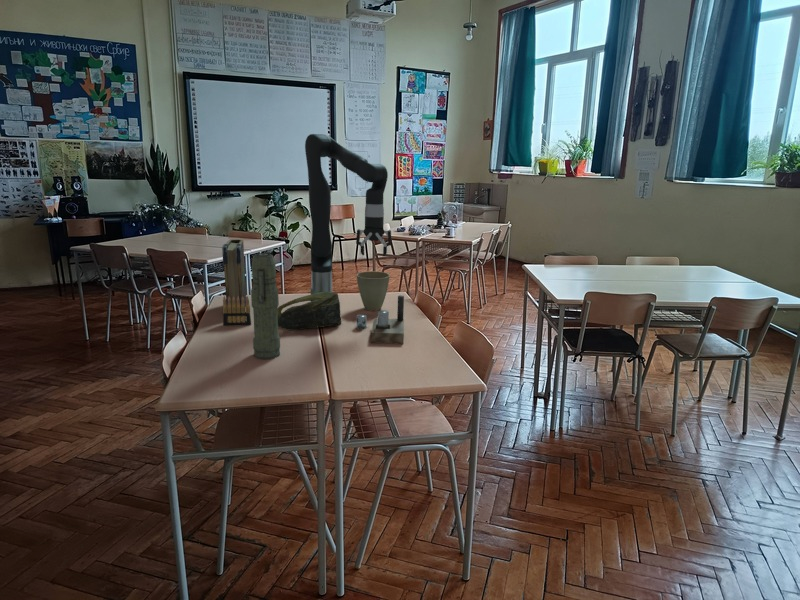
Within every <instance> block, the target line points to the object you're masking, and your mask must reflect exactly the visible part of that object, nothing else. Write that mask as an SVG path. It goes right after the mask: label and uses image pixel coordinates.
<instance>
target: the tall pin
mask: <svg viewBox="0 0 800 600" xmlns="http://www.w3.org/2000/svg"><path fill="white" fill-rule="evenodd" d="M377 313H378V314H377V319H378V329H388V319H390V317H389V315H390V314H389V313H390V312H389V311H388V310H382V309H380V310H377Z"/></svg>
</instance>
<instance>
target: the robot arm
mask: <svg viewBox="0 0 800 600" xmlns="http://www.w3.org/2000/svg"><path fill="white" fill-rule="evenodd" d="M304 150H305V158H306V166H307V179H308V203H309V214H310V217H311V241H310V271H311V272H310V277H311V280H310V281H311V288H310V295H311V294H315V293H320V292H332V293H333V255H332V254H333V251H332V250H333V243H332V238H331V229H330V228H331V227H330V220H331V209H332V207H331V206H332V205H331V204H332V203H331V201H332V198H331V197H332V196H331V187H330V184H329V182H328V180H327V178H326V176H325V174H324V173H323V169H322V162H321V160H322V158H330V159H331V158H332V159H334V160H337V161H338V162H339V163H340V165H341V166H343V168H345V169H346V170H348V171H349V172H352V173H354V174H356V175H357V176H358V177H359V178H360V179H362V180H363V181H365V182H367V183H371V184H372V185H371V187H370V188H368V189H367V190H366V191H365V207H364V229H360V228H358V229H357V230H356V239H355V244H356V245H357V246H359V247H360V254H361V255H362V256H364V255H365V244H366V243H367V242H368V241H371V242H372V241H375V242H378V241H380V243H381V244H382V245H383V247H382V256H383V257H385V256H386V255H387V253H388V247H390V246H392V231H391V230H390V229H388V230H384V222H385V221H384V216H385V212H384V211H385V210H384V208H385V207H384V194H385V189H386V185H387V181H388V176H389V175H388V173H389V172H388V169H387V167H386V166H385V165H384V164H382V163H370V162H369V161H368V160H367V159H366V158H365V157H364V156H362V155H360V154H357V153H355V152H353V151H352V150H349V149H347V148H346V147H344V146H342V145H341V144H340V143H339V142H337V141H336V140H335V139H333V138H332V137H331V136H330V135H326V134H323V133H321V134H319V133H318V134H317V133H311V134H308V135H307V136H306V139H305V143H304ZM363 234H364V236H365V238H364V239H363V240H362V241H360V240H361V238H360V237H361V236H362V235H363ZM384 235H386V237H387V242H386V240H385V239H384V238H383V236H384ZM317 300H319V299H317ZM317 300H313V301H317ZM310 302H312V301H310Z"/></svg>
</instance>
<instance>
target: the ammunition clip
mask: <svg viewBox="0 0 800 600" xmlns="http://www.w3.org/2000/svg"><path fill="white" fill-rule="evenodd" d="M222 298H223V299H222V326H224V327H225V326H227V327H228V326H229V327H230V326H235V327H236V326H252V318H251V307H250V298H249V296H248V295H246V307H245V303H244V297H243V296H242V299H241V306H240V300H239V297H238V296H237V306H236V304H235V298H234V296H233V298H232V306H231V300H230V297H229V296H228V306H227V305H226V295H224V296H223V297H222ZM236 309H237V312H236ZM227 310H228V312H227Z"/></svg>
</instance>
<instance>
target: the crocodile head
mask: <svg viewBox="0 0 800 600" xmlns="http://www.w3.org/2000/svg"><path fill="white" fill-rule="evenodd" d="M317 299H319V300H317ZM313 300H317V301H313ZM311 301H312V302H311ZM303 302H306V303H303ZM298 303H303V304H299V305H294V304H298ZM292 305H294V306H292ZM289 306H291V307H289ZM287 307H288V308H287ZM283 309H285V310H284V311H283ZM282 311H283V312H282ZM277 313H278V328H280V329H283V330H287V331H288V330H289V331H298V330H304V329H311V328H312V329H317V328H318V329H319V328H326V327H329V326H338V325H340V324H342V317H341V302H340V299H339V294H338V293H337V292H333V291H332V292H320V293H315V294H311V293H310V294H307V295H304V296H301V297H300V296H299V297H298V298H295V299H292V300H290V301H287V302H285V303H283V304H280V305H278V307H277Z"/></svg>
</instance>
